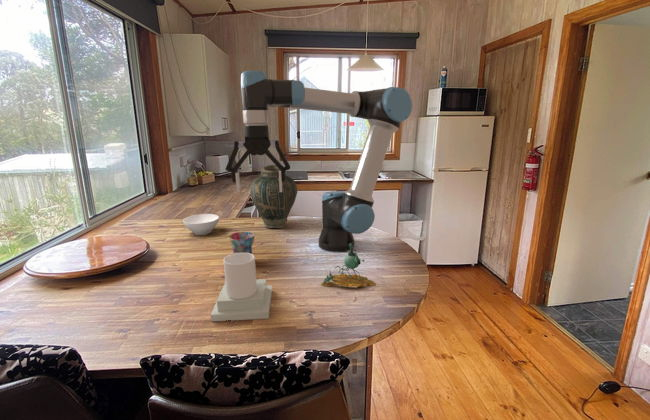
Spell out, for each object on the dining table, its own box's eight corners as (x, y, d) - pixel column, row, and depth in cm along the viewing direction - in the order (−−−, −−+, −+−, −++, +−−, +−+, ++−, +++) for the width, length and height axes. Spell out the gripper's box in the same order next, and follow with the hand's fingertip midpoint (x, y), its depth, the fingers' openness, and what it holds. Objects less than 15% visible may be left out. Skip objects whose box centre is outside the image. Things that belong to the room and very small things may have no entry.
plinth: (272, 291, 106) (271, 276, 104) (268, 318, 91) (267, 301, 90) (223, 293, 105) (221, 278, 103) (211, 321, 90) (209, 304, 89)
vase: (261, 219, 182) (258, 163, 174) (302, 220, 179) (300, 163, 171) (246, 232, 160) (241, 169, 153) (292, 234, 157) (290, 169, 150)
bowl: (227, 230, 163) (226, 216, 162) (199, 240, 150) (197, 225, 149) (205, 225, 172) (204, 212, 170) (177, 234, 159) (175, 220, 157)
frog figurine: (322, 275, 116) (326, 234, 113) (374, 283, 115) (381, 242, 111) (318, 288, 107) (323, 244, 103) (376, 297, 106) (383, 252, 102)
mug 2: (239, 278, 103) (236, 246, 100) (265, 280, 102) (263, 248, 99) (221, 298, 92) (217, 263, 89) (250, 301, 90) (247, 265, 88)
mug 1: (246, 269, 121) (244, 241, 119) (225, 265, 125) (222, 237, 122) (265, 257, 132) (263, 231, 129) (245, 253, 136) (243, 228, 133)
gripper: (296, 124, 110) (298, 188, 116) (217, 124, 108) (223, 190, 114) (296, 124, 103) (298, 193, 108) (212, 125, 101) (218, 195, 106)
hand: (259, 192), depth 111 cm, fingers open, 13 cm apart
